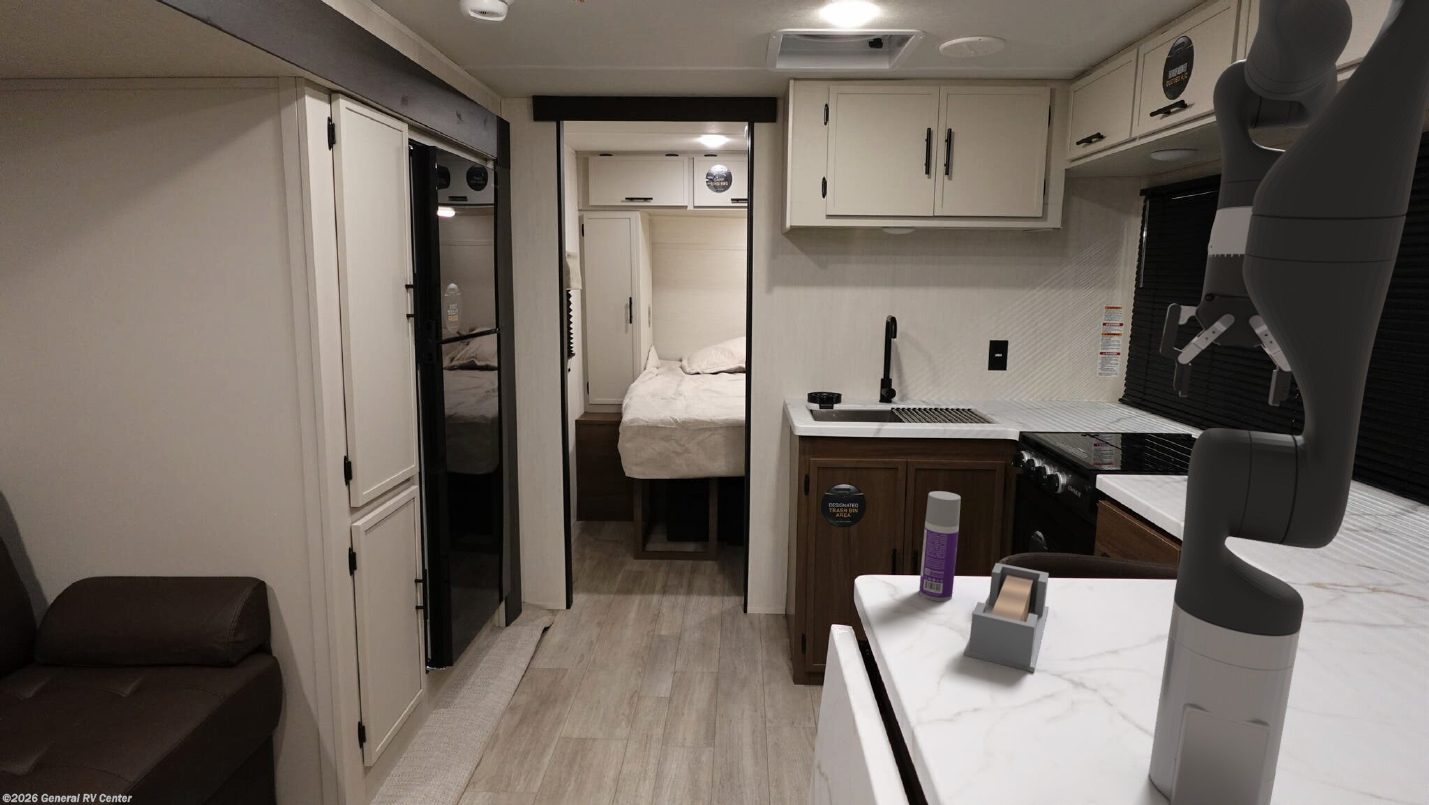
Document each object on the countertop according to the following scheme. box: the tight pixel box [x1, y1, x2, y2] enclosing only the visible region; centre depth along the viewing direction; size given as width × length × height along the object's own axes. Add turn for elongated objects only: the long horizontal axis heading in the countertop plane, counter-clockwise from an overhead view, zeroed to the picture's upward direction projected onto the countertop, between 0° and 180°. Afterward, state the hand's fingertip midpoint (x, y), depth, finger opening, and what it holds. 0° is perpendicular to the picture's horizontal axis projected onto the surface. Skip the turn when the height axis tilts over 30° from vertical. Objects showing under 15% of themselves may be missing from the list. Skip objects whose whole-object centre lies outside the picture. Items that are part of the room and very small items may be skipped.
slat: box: [991, 575, 1033, 622], centre depth 100 cm, size 16×3×4 cm, turn 152°
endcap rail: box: [963, 562, 1050, 673], centre depth 100 cm, size 20×8×6 cm, turn 152°
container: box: [918, 490, 962, 602], centre depth 110 cm, size 5×5×15 cm
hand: (1227, 400), depth 85 cm, fingers open, 8 cm apart
